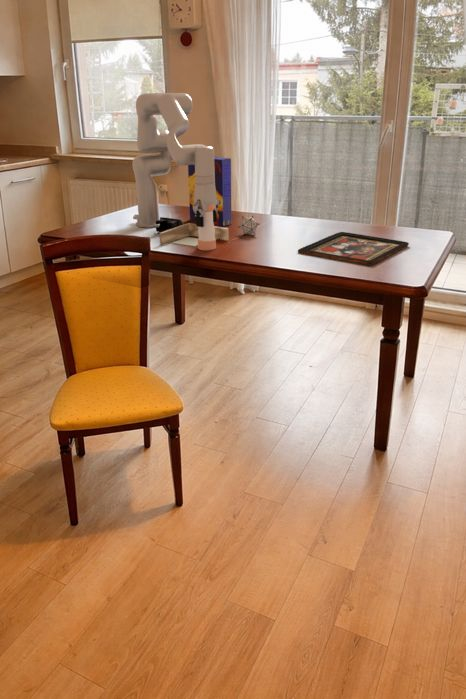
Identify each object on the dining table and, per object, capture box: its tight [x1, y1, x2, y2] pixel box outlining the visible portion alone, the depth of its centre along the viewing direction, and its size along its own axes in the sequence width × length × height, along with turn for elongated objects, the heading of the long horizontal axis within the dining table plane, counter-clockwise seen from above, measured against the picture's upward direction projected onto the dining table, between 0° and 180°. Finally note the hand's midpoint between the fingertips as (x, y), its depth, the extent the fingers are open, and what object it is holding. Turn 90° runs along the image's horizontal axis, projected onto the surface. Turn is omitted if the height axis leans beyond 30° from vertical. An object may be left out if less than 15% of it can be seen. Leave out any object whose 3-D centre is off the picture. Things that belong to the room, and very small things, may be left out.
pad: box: [172, 236, 199, 247], centre depth 248 cm, size 11×11×1 cm
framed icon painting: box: [297, 231, 410, 267], centre depth 235 cm, size 38×35×3 cm
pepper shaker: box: [197, 204, 217, 251], centre depth 235 cm, size 7×7×19 cm
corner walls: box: [159, 222, 230, 246], centre depth 247 cm, size 21×21×5 cm
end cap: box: [155, 216, 184, 236], centre depth 261 cm, size 10×7×7 cm
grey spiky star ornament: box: [237, 215, 260, 236], centre depth 258 cm, size 9×8×10 cm
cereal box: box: [187, 156, 233, 227], centre depth 276 cm, size 22×6×30 cm, turn 48°
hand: (206, 224), depth 235 cm, fingers open, 9 cm apart
